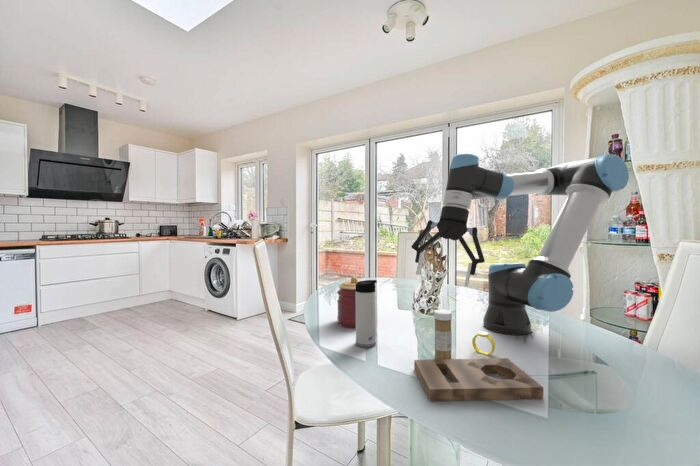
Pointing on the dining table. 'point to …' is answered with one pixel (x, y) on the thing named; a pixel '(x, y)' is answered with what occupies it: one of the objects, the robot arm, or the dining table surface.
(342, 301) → the canister
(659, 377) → the dining table surface
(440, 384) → the socket plate
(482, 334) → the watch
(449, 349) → the sprinkles bottle
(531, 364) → the dining table surface
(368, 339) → the travel mug
